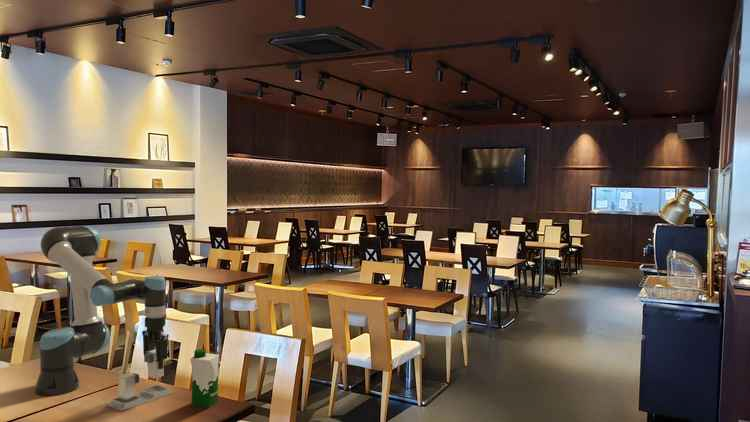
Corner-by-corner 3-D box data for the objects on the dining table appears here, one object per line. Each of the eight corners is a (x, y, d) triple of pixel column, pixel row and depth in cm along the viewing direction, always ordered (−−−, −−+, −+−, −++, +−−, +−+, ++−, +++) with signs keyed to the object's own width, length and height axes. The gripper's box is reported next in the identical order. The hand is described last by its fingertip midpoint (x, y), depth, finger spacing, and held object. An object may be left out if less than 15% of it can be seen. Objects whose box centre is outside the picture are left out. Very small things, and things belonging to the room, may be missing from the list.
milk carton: (199, 398, 214) (200, 347, 213) (221, 400, 212) (221, 348, 211) (187, 407, 205) (188, 353, 205) (210, 409, 203) (210, 355, 203)
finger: (157, 373, 219) (157, 348, 219) (163, 375, 217) (163, 350, 217) (143, 378, 214) (143, 352, 214) (150, 380, 212) (149, 354, 212)
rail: (107, 406, 205) (107, 376, 204) (159, 389, 223) (159, 362, 223) (120, 411, 200) (120, 381, 200) (172, 393, 219) (172, 365, 218)
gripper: (133, 315, 217) (133, 374, 218) (160, 320, 208) (160, 382, 209) (149, 311, 224) (150, 369, 224) (177, 317, 214) (177, 377, 215)
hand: (155, 375), depth 216 cm, fingers closed on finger, 4 cm apart
